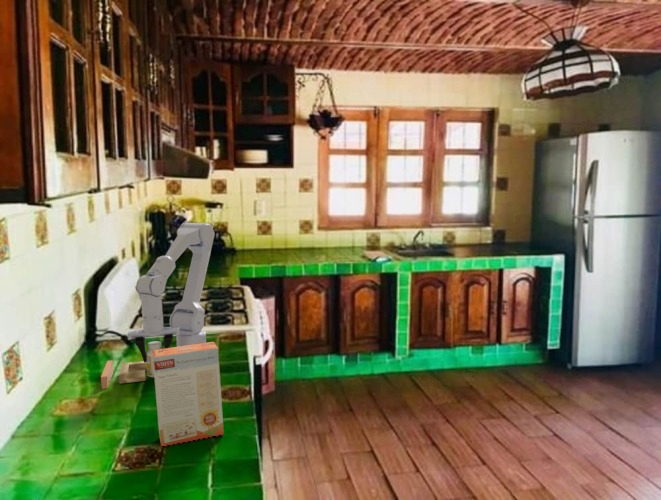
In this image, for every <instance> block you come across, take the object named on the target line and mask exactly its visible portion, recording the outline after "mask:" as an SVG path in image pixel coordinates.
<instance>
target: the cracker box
mask: <svg viewBox="0 0 661 500" xmlns="http://www.w3.org/2000/svg"><path fill="white" fill-rule="evenodd" d="M152 354H153V366H154V377H153V378H154V389H155V390H154V391H155V400H156V401H155V402H156V411H157V413H156V415H157V424H158V433H159V441H160V446H165V447H168V446H167V445H170V446H173V444H175V445H178V444H177V443H180V444H183V442H185V443H189V442H188V441H190V442H194V441H193V440H195V441H199V440H198V439H200V440H204V439H203V438H205V439H209V438H208V437H210V438H213V437H212V436H216V437H220V436H219V435H221V436H224V435H223V434H224V433H225V432H224V420H223V419H224V417H223V404H222V403H223V402H222V389H221V373H220V360H219V359H220V358H219V348H218V346H217V344H216V343H215V341H210V342H206V343H201V344H193V345H187V346H179V347H177V346H175V347H169V348H165V347H164V348H162V349H157V350H153V351H152Z"/></svg>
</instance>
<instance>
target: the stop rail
mask: <svg viewBox="0 0 661 500" xmlns="http://www.w3.org/2000/svg"><path fill="white" fill-rule="evenodd" d="M113 362H114V360H107V361H106V364H105V365H104V368H103V370H102V373H101V375H100V382H101V389H102V390H105V389H109V386H110V383H111V380H112V377H113V374H114V372H115V371H114V363H113Z"/></svg>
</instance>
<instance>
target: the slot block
mask: <svg viewBox="0 0 661 500" xmlns="http://www.w3.org/2000/svg"><path fill="white" fill-rule="evenodd" d="M146 372H147V362H144V360H141V361H135V362H134V361H133V362H123V363H122V364H121V367H120V370H119V373H118V380H119V384H128V383H135V382H137V383H138V382H144V381H145V382H146V379H147V378H146Z"/></svg>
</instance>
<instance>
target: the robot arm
mask: <svg viewBox="0 0 661 500" xmlns="http://www.w3.org/2000/svg"><path fill="white" fill-rule="evenodd" d="M213 228H214V227H213V226H212V225H211V224H210V223H209V222H203V223H201V222H183V223H181V225H180V226H179V228H178V229H177V231H176V237H175V239H174V240H173V242H172V243H171V246H170V247H169V248H168V250H167V252H166V253H165V255H161V256H158V257H157V258H156V259H155V262H154V263H153V265H152V266H151V267H150V269H149V270H148V271H147V272H146V274H144V275H141V276H140V277H139V278H138V279H137V281H136V285H135V286H134V288H135V291H136V292H137V294H138V297H139V300H140V301H141V314H142V315H141V316H142V326H143V327H142V328H143V329H137V330H132V331H127V340H128V341H130V340H131V341H132V339H134V343H135V346H136V347H137V348H138V350H139V352H140V354H141V357H142V359H143V360H142V361H144V362H146V352H147V351H146V338H154V337H155V338H157V337H163V343H164V349H165V348H171V345H172V341H173V338H174V336H175V337H176V347H179V346H187V345H193V344H201V343H207V333H206V330H202V329H203V328H204V326H205V313H206V312H205V309H204V308H203V307H202V306H201V304H200V303H201V302H200V301H201V297H202V293H203V288H204V284H205V280H206V275H207V271H208V267H209V262H210V257H211V252H212V248H213V245H214V244H213V243H214V239H215V235H216V234H215V231H214V229H213ZM186 249H188V250H190V251H191V252H192V257H191V261H190V265H189V270H188V275H187V278H186V284H185V286H184V287H185V288H184V291H183V295H182V300H180V302H178V303H177V304H176V305H174V308H173V311H172V313H171V314H170V317H169V327H166V326H165V327H164V314H163V313H164V312H163V302H162V294H163V293H164V292H165V290H166V286H167V285H166V284H167V281H168V279H169V277H170V276H171V275H172V273H173V272H174V270H176V261H177V260H178V259H179V258H180V256H181V255H182V254H183V253H184V252H185V251H186Z"/></svg>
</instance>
